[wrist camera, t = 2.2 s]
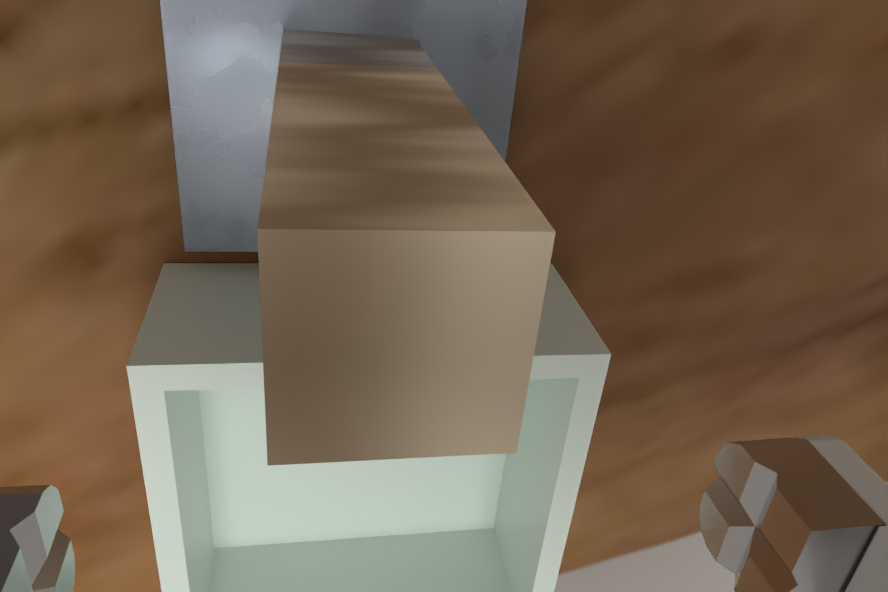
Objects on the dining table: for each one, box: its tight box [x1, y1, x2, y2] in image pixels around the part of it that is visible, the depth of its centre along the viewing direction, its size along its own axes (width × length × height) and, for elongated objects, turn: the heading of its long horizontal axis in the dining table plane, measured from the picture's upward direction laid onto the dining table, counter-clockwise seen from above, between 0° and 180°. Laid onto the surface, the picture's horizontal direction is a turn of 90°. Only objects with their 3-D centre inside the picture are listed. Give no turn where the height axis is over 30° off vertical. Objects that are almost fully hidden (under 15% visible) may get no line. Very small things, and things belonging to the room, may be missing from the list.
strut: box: [257, 29, 556, 466], centre depth 18 cm, size 4×4×16 cm
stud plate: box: [160, 0, 527, 252], centre depth 24 cm, size 12×12×5 cm
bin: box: [127, 263, 611, 592], centre depth 31 cm, size 16×16×7 cm
